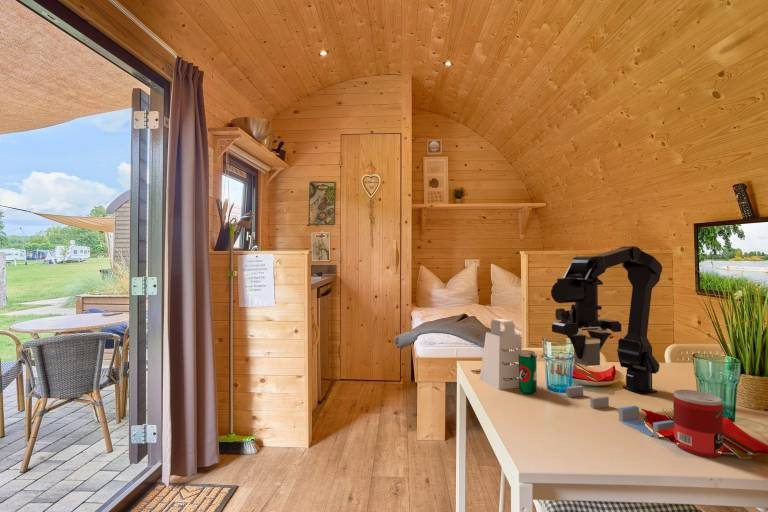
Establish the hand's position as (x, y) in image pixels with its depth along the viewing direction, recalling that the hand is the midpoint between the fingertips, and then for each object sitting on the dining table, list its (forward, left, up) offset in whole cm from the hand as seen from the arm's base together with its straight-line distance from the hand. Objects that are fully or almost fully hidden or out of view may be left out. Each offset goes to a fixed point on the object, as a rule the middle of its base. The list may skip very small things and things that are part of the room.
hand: (586, 357), depth 109 cm
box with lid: (0, 0, -2) cm, 2 cm away
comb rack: (0, +9, -12) cm, 15 cm away
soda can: (+11, -11, -12) cm, 20 cm away
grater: (+13, -21, -12) cm, 28 cm away
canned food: (-1, +29, -12) cm, 31 cm away
